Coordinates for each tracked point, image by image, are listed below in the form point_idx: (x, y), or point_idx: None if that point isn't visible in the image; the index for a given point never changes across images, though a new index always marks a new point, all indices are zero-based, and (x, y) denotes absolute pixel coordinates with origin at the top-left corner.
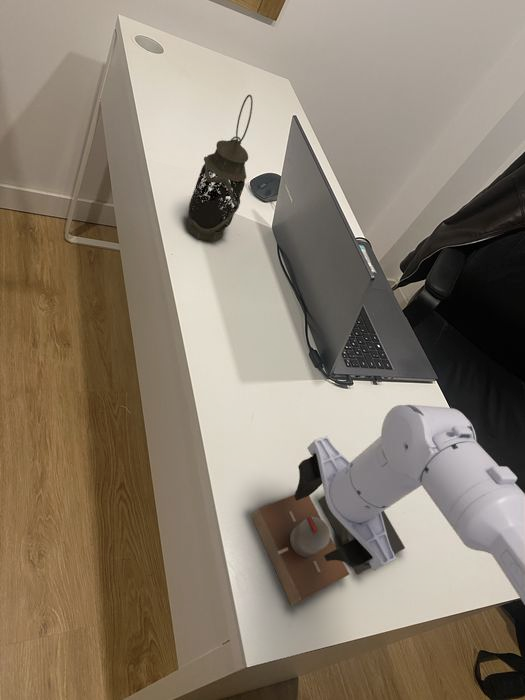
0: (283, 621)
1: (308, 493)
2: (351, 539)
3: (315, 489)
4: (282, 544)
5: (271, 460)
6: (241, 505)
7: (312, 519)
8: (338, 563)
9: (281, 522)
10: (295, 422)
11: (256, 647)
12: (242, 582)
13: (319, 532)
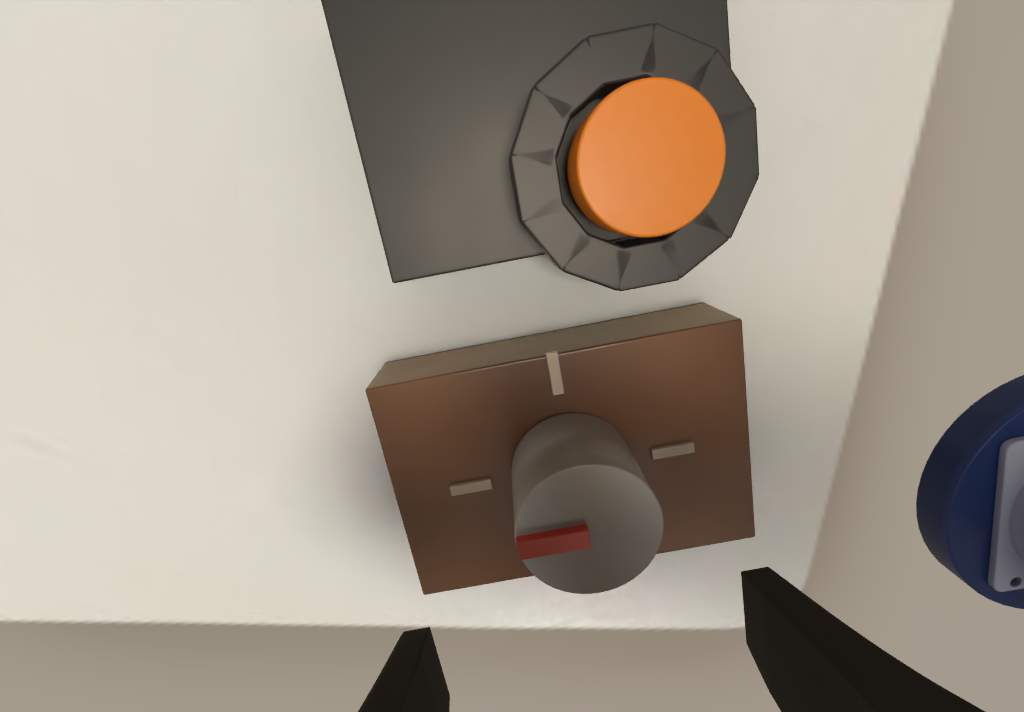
0: None
1: (429, 707)
2: (627, 276)
3: (412, 692)
4: None
5: (229, 420)
6: (394, 561)
7: (532, 540)
8: (689, 354)
9: (486, 530)
10: (30, 255)
11: None
12: (615, 605)
13: (593, 514)
